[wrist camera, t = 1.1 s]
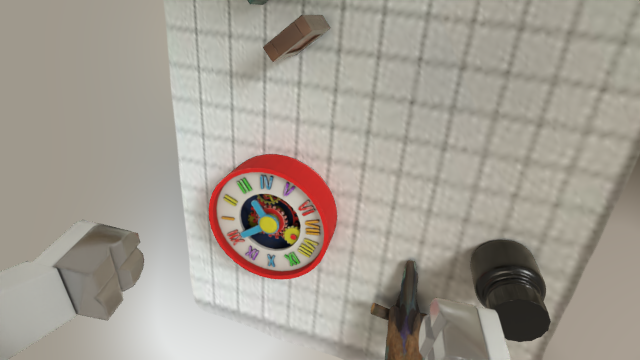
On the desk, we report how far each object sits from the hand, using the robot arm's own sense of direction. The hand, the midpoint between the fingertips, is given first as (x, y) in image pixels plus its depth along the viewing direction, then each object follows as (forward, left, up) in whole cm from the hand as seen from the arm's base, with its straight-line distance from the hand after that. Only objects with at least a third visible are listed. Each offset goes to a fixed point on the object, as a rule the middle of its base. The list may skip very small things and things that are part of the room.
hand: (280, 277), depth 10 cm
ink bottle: (+20, +27, -44) cm, 55 cm away
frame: (0, -13, -44) cm, 45 cm away
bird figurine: (+36, +18, -44) cm, 59 cm away
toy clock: (+28, -8, -44) cm, 53 cm away
